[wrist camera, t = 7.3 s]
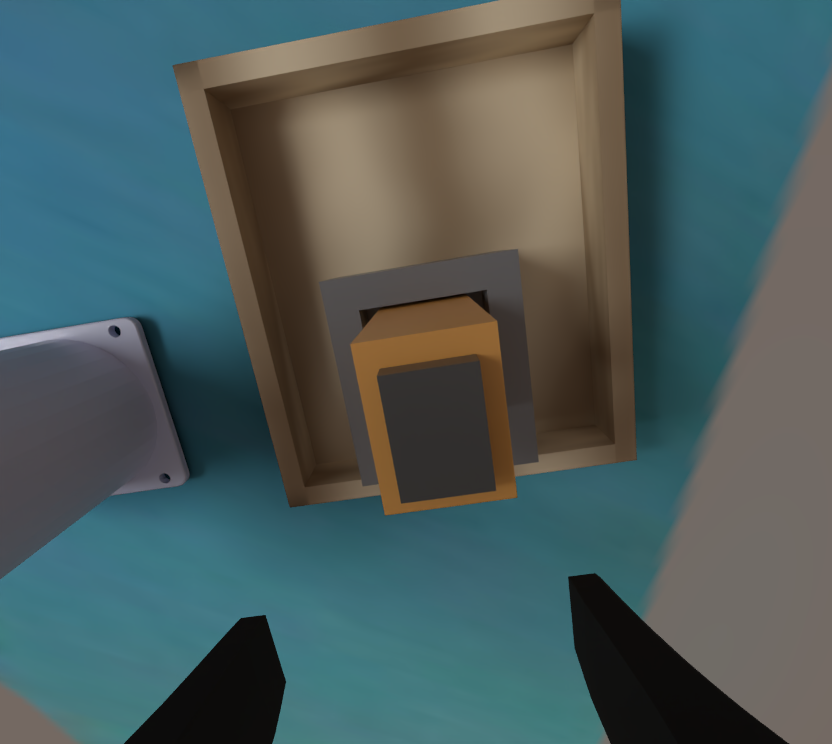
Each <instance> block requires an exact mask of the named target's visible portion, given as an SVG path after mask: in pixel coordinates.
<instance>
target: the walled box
mask: <svg viewBox="0 0 832 744" xmlns="http://www.w3.org/2000/svg"><path fill="white" fill-rule="evenodd" d="M173 69H174V73H175V77H176V80H177V84H178V88H179V92H180V95H181V99H182V103H183V107H184V110H185V114H186V118H187V122H188V126H189V129H190V133H191V137H192V141H193V144H194V148H195V152H196V156H197V159H198V163H199V167H200V171H201V175H202V178H203V182H204V186H205V190H206V193H207V197H208V201H209V205H210V208H211V212H212V216H213V220H214V223H215V227H216V231H217V235H218V239H219V242H220V246H221V250H222V254H223V257H224V261H225V265H226V269H227V272H228V276H229V280H230V284H231V287H232V291H233V295H234V299H235V303H236V306H237V310H238V314H239V318H240V321H241V325H242V329H243V333H244V336H245V340H246V344H247V348H248V351H249V355H250V359H251V363H252V367H253V370H254V374H255V378H256V382H257V385H258V389H259V393H260V397H261V400H262V404H263V408H264V412H265V415H266V419H267V423H268V427H269V431H270V434H271V438H272V442H273V446H274V449H275V453H276V457H277V461H278V464H279V468H280V472H281V476H282V480H283V483H284V487H285V491H286V495H287V498H288V502H289V506H290V507H297V506H304V505H311V504H319V503H326V502H333V501H341V500H348V499H355V498H363V497H370V496H377V495H381V493H380V488H379V484H377V485H369V486H362V481H361V476H360V472H359V467H358V462H357V458H356V453H355V448H354V444H353V439H352V434H351V430H350V425H349V420H348V416H347V411H346V406H345V402H344V397H343V392H342V388H341V383H340V378H339V374H338V369H337V364H336V360H335V355H334V350H333V346H332V341H331V336H330V332H329V327H328V322H327V318H326V313H325V308H324V304H323V299H322V294H321V290H320V285H319V282H321V281H325V280H329V279H333V278H337V277H343V276H349V275H355V274H361V273H367V272H373V271H379V270H385V269H391V268H397V267H403V266H409V265H415V264H421V263H427V262H433V261H439V260H445V259H451V258H457V257H463V256H469V255H475V254H481V253H487V252H493V251H499V250H510V249H518V255H519V265H520V275H521V285H522V295H523V306H524V316H525V326H526V336H527V347H528V357H529V367H530V377H531V387H532V398H533V408H534V418H535V428H536V439H537V449H538V459H539V462H535V463H528V464H521V465H514V472H515V477H516V476H523V475H530V474H538V473H545V472H552V471H559V470H567V469H574V468H581V467H589V466H596V465H603V464H610V463H618V462H625V461H632V460H637V455H636V427H635V398H634V369H633V341H632V312H631V283H630V255H629V226H628V197H627V168H626V140H625V111H624V82H623V54H622V25H621V0H500V1H494V2H489V3H484V4H479V5H474V6H469V7H464V8H459V9H454V10H449V11H444V12H439V13H434V14H429V15H424V16H419V17H414V18H409V19H404V20H399V21H394V22H389V23H384V24H378V25H373V26H368V27H363V28H358V29H353V30H348V31H343V32H338V33H333V34H328V35H323V36H318V37H313V38H308V39H303V40H298V41H293V42H288V43H283V44H278V45H273V46H268V47H262V48H257V49H252V50H247V51H242V52H237V53H232V54H227V55H222V56H217V57H212V58H207V59H202V60H197V61H192V62H187V63H182V64H177V65H173Z"/></svg>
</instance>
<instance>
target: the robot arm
mask: <svg viewBox="0 0 832 744" xmlns="http://www.w3.org/2000/svg"><path fill="white" fill-rule="evenodd" d="M115 326H117V327H119V329H120V330H121V334H120V336H119V335H118V334H117V333H116V332H115ZM164 473H166V474H168V475H169V476H170V479H167V478H166V477H165V476H164ZM189 476H190V474H189V470H188V467H187V463H186V460H185V457H184V454H183V451H182V448H181V445H180V442H179V439H178V436H177V433H176V430H175V426H174V423H173V420H172V417H171V414H170V411H169V408H168V405H167V402H166V399H165V396H164V393H163V389H162V386H161V383H160V380H159V377H158V374H157V371H156V368H155V365H154V362H153V359H152V356H151V353H150V349H149V346H148V343H147V340H146V337H145V334H144V331H143V328H142V325H141V324H140V322H139V321H138V320H137V319H135V318H133V317H124V318H118V319H112V320H106V321H100V322H94V323H88V324H82V325H76V326H70V327H64V328H57V329H51V330H45V331H39V332H33V333H27V334H21V335H15V336H9V337H3V338H0V579H1V578H3V577H4V576H5V575H7V574H8V573H9V572H10V571H12V570H13V569H14V568H16V567H17V566H18V565H20V564H21V563H22V562H24V561H25V560H26V559H27V558H29V557H30V556H31V555H33V554H34V553H35V552H37V551H38V550H39V549H41V548H42V547H43V546H45V545H46V544H47V543H48V542H50V541H51V540H52V539H54V538H55V537H56V536H58V535H59V534H60V533H62V532H63V531H64V530H66V529H67V528H68V527H69V526H71V525H72V524H73V523H75V522H76V521H77V520H79V519H80V518H81V517H83V516H84V515H85V514H87V513H88V512H89V511H90V510H92V509H93V508H94V507H96V506H97V505H98V504H100V503H101V502H102V501H104V500H105V499H106V498H107V497H109V496H112V495H119V494H126V493H133V492H140V491H147V490H154V489H161V488H168V487H175V486H180V485H183V484H184V483H185V482H186V481H187V480H188V479H189ZM568 579H569V590H570V601H571V612H572V623H573V634H574V645H575V650H576V653H577V657H578V660H579V663H580V666H581V669H582V672H583V675H584V678H585V681H586V684H587V687H588V690H589V693H590V696H591V699H592V701H593V704H594V706H595V708H596V711H597V713H598V715H599V718H600V720H601V722H602V725H603V727H604V729H605V732H606V734H607V736H608V738H609V741H610V743H611V744H789V743H787V742H786V741H784V740H783V739H782V738H781V737H779V736H778V735H776V734H775V733H774V732H773V731H771V730H770V729H769V728H768V727H766V726H765V725H764V724H762V723H761V722H760V721H758V720H757V719H756V718H754V717H753V716H752V715H750V714H749V713H748V712H747V711H745V710H744V709H743V708H742V707H740V706H739V705H738V704H737V703H736V702H734V701H733V700H732V699H731V698H729V697H728V696H727V695H726V694H724V693H723V692H722V691H721V690H720V689H719V688H717V687H716V686H715V685H714V684H713V683H711V682H710V681H709V680H708V679H707V678H706V677H704V676H703V675H702V674H701V673H700V672H698V671H697V670H696V669H695V668H694V667H693V666H691V665H690V664H689V663H688V662H687V661H686V660H685V659H683V658H682V657H681V656H680V655H679V654H678V653H677V652H676V651H674V649H673V648H672V647H670V646H669V645H668V644H667V643H666V642H665V641H664V640H663V639H662V638H661V637H660V636H658V635H657V634H656V633H655V632H654V631H653V630H652V629H651V628H650V627H649V626H648V625H647V624H646V623H645V622H644V621H643V620H642V619H641V618H640V617H639V616H638V615H637V614H636V613H635V612H634V611H633V610H632V609H631V608H630V607H629V606H628V605H627V604H626V603H625V602H624V601H623V600H622V599H621V598H620V597H619V596H618V595H617V594H616V593H615V592H614V591H613V590H612V589H611V588H610V587H609V586H608V585H607V584H606V583H605V582H604V581H603V580H602V579H601V577H599V576H598V575H597V574H595V573H594V574H586V575H578V576H570V577H568ZM285 684H286V680H285V677H284V674H283V671H282V667H281V664H280V661H279V658H278V654H277V651H276V648H275V645H274V641H273V638H272V635H271V632H270V628H269V625H268V622H267V619H266V615H262V616H254V617H246V618H241V619H240V620H239V621H238V622H237V623H236V624H235V625H234V626H233V627H232V628H231V629H230V630H229V631H228V632H227V634H226V635H225V636H224V637H223V638H222V639H221V640H220V641H219V642H218V643H217V645H216V646H215V647H214V648H213V649H212V650H211V651H210V652H209V653H208V655H207V656H206V657H205V658H204V659H203V660H202V661H201V662H200V663H199V665H198V666H197V667H196V668H195V669H194V670H193V671H192V672H191V673H190V674H189V676H188V677H187V678H186V679H185V680H184V681H183V682H182V683H181V684H180V685H179V686H178V688H177V689H176V690H175V691H174V692H173V693H172V694H171V695H170V696H169V697H168V698H167V700H166V701H165V702H164V703H163V704H162V705H161V706H160V707H159V708H158V709H157V710H156V711H155V712H154V713H153V714H152V715H151V716H150V717H149V718H148V719H147V720H146V721H145V722H144V723H143V725H142V726H141V727H140V728H139V729H138V730H137V731H136V732H135V733H134V734H133V735H132V736H131V737H130V738H129V739H128V740H127V741H126V742H125V743H124V744H272V742H273V739H274V736H275V732H276V727H277V723H278V718H279V714H280V709H281V704H282V699H283V694H284V689H285Z"/></svg>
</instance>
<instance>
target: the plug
mask: <svg viewBox="0 0 832 744" xmlns="http://www.w3.org/2000/svg"><path fill="white" fill-rule="evenodd" d="M350 346H351V351H352V356H353V361H354V365H355V370H356V375H357V380H358V385H359V390H360V395H361V400H362V405H363V410H364V414H365V419H366V424H367V429H368V434H369V439H370V444H371V449H372V454H373V459H374V463H375V468H376V473H377V478H378V483H379V488H380V493H381V498H382V503H383V508H384V512H385V515H392V514H399V513H407V512H414V511H421V510H429V509H436V508H444V507H451V506H459V505H466V504H473V503H481V502H488V501H496V500H503V499H510V498H517V490H516V481H515V472H514V464H513V455H512V446H511V438H510V429H509V420H508V411H507V403H506V394H505V385H504V376H503V368H502V359H501V350H500V342H499V333H498V324H497V320H495V319H494V318H493V317H492V316H491V315H490V314H488V313H487V312H486V311H485V310H484V309H483V308H481V307H480V306H479V305H478V304H477V303H476V302H474V301H473V300H472V299H471V298H470V297H469V296H467V295H466V294H465V293H464V294H457V295H451V296H445V297H439V298H433V299H426V300H420V301H414V302H408V303H402V304H395V305H389V306H383V307H381V308H380V309H379V310H378V311H377V313H376V314H375V315H374V316H373V317H372V319H371V320H370V321H369V322H368V323H367V325H366V326H365V327H364V328H363V329H362V331H361V332H360V333H359V334H358V335H357V337H356V338H355V339H354V340H353V341H352V343H351V344H350Z"/></svg>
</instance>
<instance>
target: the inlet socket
mask: <svg viewBox="0 0 832 744" xmlns="http://www.w3.org/2000/svg"><path fill="white" fill-rule="evenodd" d="M319 285H320V290H321V294H322V299H323V304H324V308H325V313H326V318H327V322H328V327H329V332H330V336H331V341H332V346H333V350H334V355H335V360H336V364H337V369H338V374H339V378H340V383H341V388H342V392H343V397H344V402H345V406H346V411H347V416H348V420H349V425H350V430H351V434H352V439H353V444H354V448H355V453H356V458H357V462H358V467H359V472H360V476H361V481H362V486H369V485H377V484H379V483H378V478H377V473H376V468H375V463H374V459H373V454H372V449H371V444H370V439H369V434H368V429H367V424H366V419H365V414H364V410H363V405H362V400H361V395H360V390H359V385H358V380H357V375H356V370H355V365H354V361H353V356H352V351H351V346H350V344H351V343H352V341H353V340H354V339H355V338H356V337H357V335H358V334H359V333H360V332H361V331H362V329H363V328H364V327H365V326H366V325H367V323H368V322H369V321H370V320H371V319H372V317H373V316H374V315H375V314H376V313H377V311H378V310H379V309H380V308H381V307H383V306H389V305H395V304H402V303H408V302H414V301H420V300H426V299H433V298H439V297H445V296H451V295H457V294H464V293H465V294H466V295H467V296H469V297H470V298H471V299H472V300H473V301H474V302H476V303H477V304H478V305H479V306H480V307H481V308H483V309H484V310H485V311H486V312H487V313H488V314H490V315H491V316H492V317H493V318H494V319H495V320H497V324H498V333H499V342H500V350H501V359H502V368H503V376H504V385H505V394H506V403H507V411H508V420H509V429H510V438H511V446H512V455H513V464H514V465H521V464H528V463H535V462H539V459H538V449H537V439H536V428H535V418H534V408H533V398H532V387H531V377H530V367H529V357H528V347H527V336H526V326H525V316H524V306H523V295H522V285H521V275H520V265H519V255H518V249H510V250H499V251H493V252H487V253H481V254H475V255H469V256H463V257H457V258H451V259H445V260H439V261H433V262H427V263H421V264H415V265H409V266H403V267H397V268H391V269H385V270H379V271H373V272H367V273H361V274H355V275H349V276H343V277H337V278H333V279H329V280H325V281H321V282H319Z"/></svg>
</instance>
